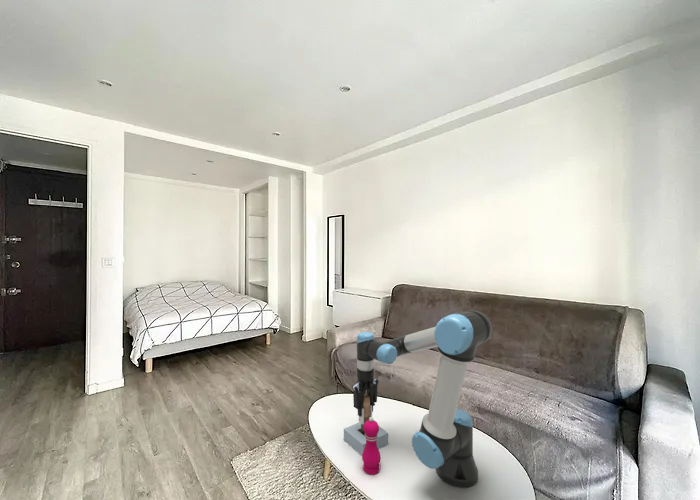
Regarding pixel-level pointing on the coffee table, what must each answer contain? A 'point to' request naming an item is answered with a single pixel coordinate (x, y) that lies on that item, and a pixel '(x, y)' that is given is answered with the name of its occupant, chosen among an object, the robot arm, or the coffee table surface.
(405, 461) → the coffee table surface
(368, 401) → the dowel
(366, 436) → the pepper mill
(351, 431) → the bore block
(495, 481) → the coffee table surface
